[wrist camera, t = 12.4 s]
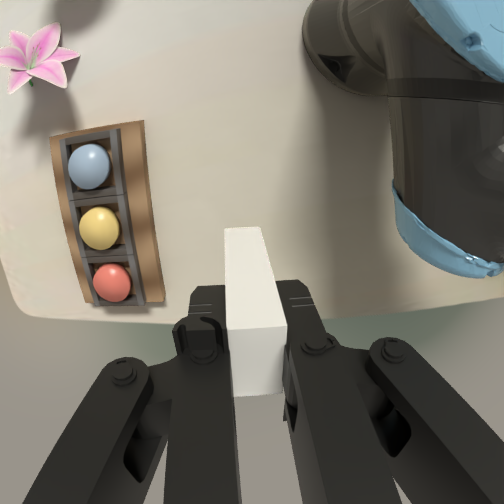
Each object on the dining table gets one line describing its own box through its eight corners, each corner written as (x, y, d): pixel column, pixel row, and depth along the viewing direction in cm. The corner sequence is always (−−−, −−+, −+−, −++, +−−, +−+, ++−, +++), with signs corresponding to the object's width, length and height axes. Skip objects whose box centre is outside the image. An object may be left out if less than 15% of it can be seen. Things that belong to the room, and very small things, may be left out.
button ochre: (80, 208, 34) (75, 212, 32) (117, 204, 34) (113, 208, 32) (88, 245, 36) (84, 251, 34) (124, 243, 36) (120, 248, 35)
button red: (92, 263, 37) (88, 269, 36) (127, 261, 37) (124, 267, 36) (101, 295, 39) (98, 302, 38) (135, 295, 39) (132, 301, 38)
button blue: (71, 147, 30) (65, 149, 29) (109, 140, 31) (104, 142, 29) (77, 188, 32) (71, 191, 31) (114, 183, 33) (109, 186, 31)
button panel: (56, 135, 32) (43, 139, 29) (143, 120, 32) (135, 121, 29) (89, 295, 42) (82, 308, 39) (165, 293, 43) (161, 308, 40)
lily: (87, 104, 32) (80, 66, 23) (4, 134, 27) (-24, 105, 18) (79, 34, 30) (76, -9, 21) (3, 60, 25) (-16, 23, 17)
